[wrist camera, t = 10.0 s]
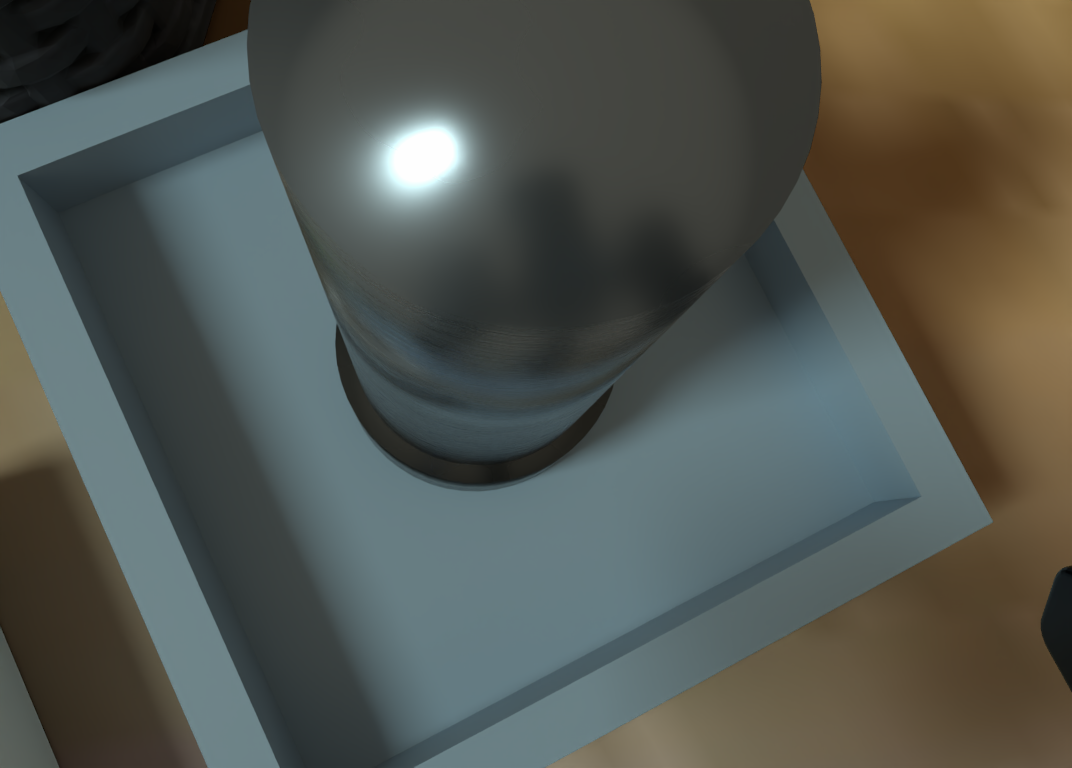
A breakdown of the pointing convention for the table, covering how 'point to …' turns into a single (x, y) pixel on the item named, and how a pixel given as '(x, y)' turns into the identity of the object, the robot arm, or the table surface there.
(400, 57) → the strut
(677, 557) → the tray
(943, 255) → the table surface
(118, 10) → the storage bin
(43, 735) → the collar block
